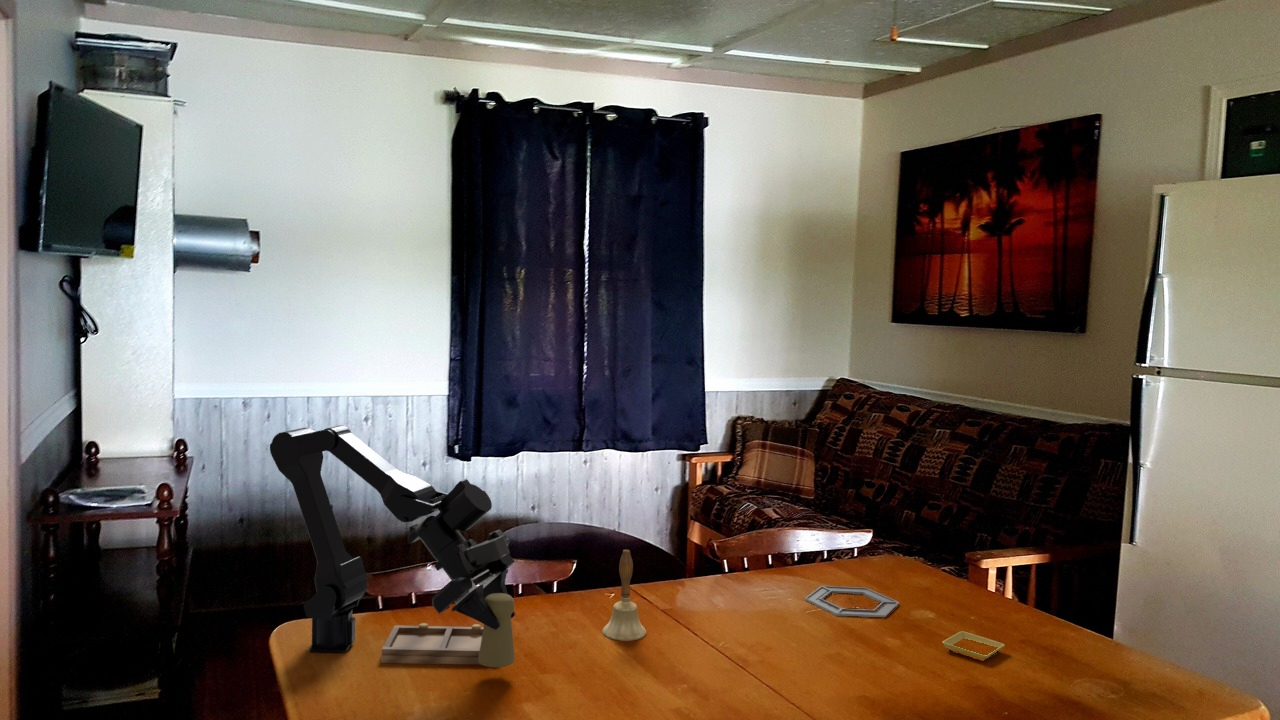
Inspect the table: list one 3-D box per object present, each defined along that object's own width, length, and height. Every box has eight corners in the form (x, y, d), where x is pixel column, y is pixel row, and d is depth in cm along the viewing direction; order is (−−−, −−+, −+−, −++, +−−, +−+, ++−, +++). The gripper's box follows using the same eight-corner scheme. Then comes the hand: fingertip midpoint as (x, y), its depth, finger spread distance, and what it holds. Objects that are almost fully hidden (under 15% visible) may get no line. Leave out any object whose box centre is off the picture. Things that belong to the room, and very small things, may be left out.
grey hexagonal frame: (909, 620, 193) (910, 616, 193) (811, 616, 194) (811, 612, 194) (889, 592, 211) (889, 588, 210) (798, 588, 211) (798, 584, 211)
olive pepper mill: (507, 669, 154) (510, 603, 153) (472, 664, 155) (474, 598, 154) (519, 655, 160) (522, 591, 159) (485, 650, 161) (488, 587, 160)
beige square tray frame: (1005, 654, 178) (1006, 643, 177) (985, 667, 171) (986, 655, 171) (961, 641, 184) (961, 630, 183) (940, 652, 177) (941, 641, 177)
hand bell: (628, 644, 174) (631, 559, 172) (593, 633, 179) (596, 550, 177) (655, 632, 180) (658, 550, 179) (620, 621, 185) (624, 541, 184)
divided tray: (380, 662, 161) (381, 647, 161) (395, 636, 173) (395, 622, 173) (499, 664, 162) (499, 650, 162) (505, 638, 174) (505, 624, 174)
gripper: (451, 532, 148) (512, 612, 145) (506, 506, 165) (561, 577, 163) (406, 573, 151) (465, 653, 148) (464, 544, 168) (518, 615, 166)
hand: (505, 622), depth 156 cm, fingers closed on olive pepper mill, 5 cm apart
